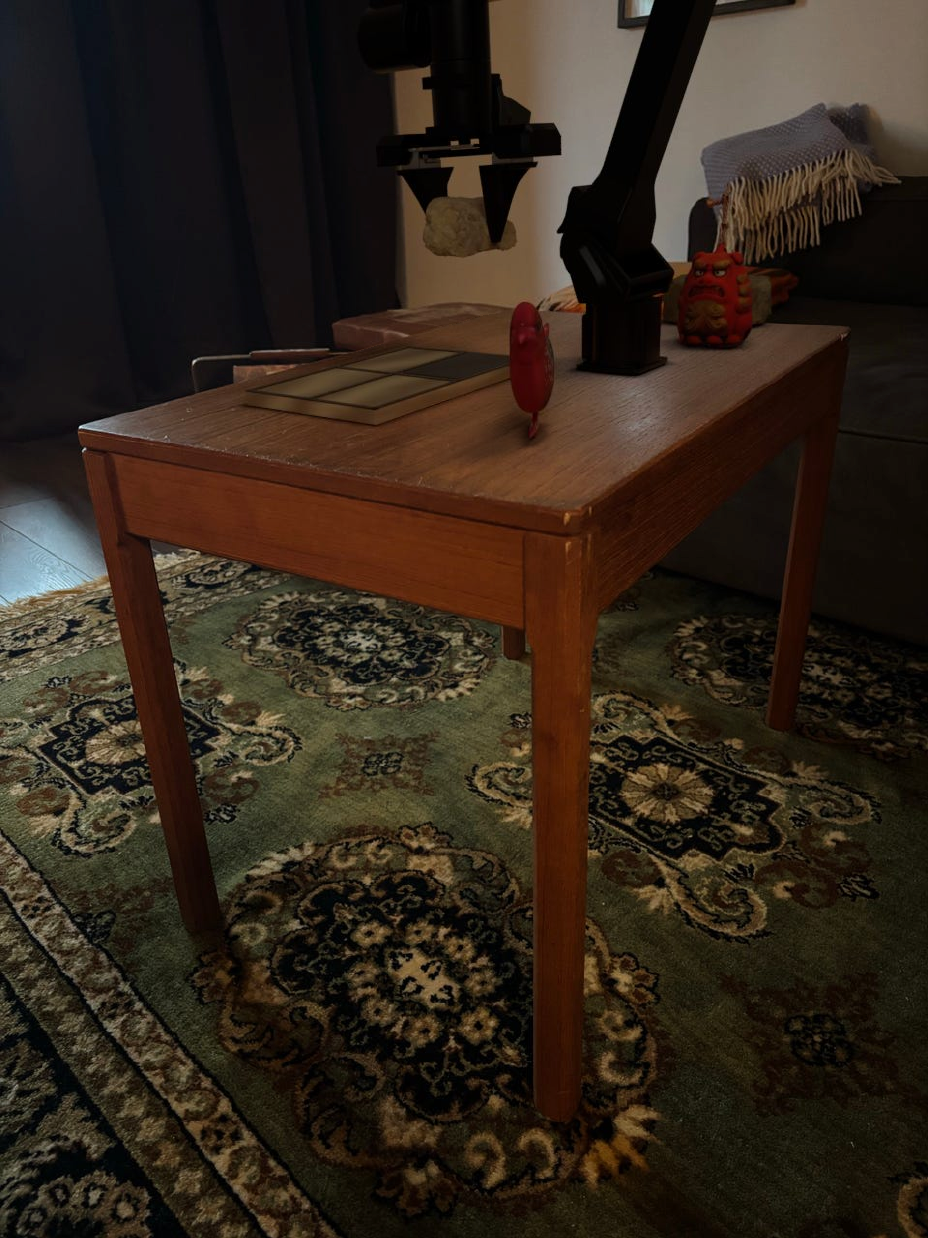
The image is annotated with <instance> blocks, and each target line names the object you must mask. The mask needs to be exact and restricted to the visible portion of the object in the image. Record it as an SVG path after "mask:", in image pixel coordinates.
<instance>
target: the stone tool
mask: <svg viewBox="0 0 928 1238" xmlns="http://www.w3.org/2000/svg"><path fill="white" fill-rule="evenodd" d="M425 214H426V215H425ZM424 215H425V218H424V219H425V224H424V228H423V231H422V241H423V243H424V247H425V248H426V249H427V250H429V251H430V252H431V253H432V254H433V255H434V256H436V257H444V258H446V257H455V258H461V259H464V258H467V257H471V256H474V255H476V254H478V253H482V252H489V251H494V250H498V251H501V252H504V251H508V250H510V249H512V248H514V247H516V246H517V242H518V240H517V230H516V226H515V224H514V223H513V221H510V220H509V219H507V222H506V225H505V229H504V232H503V236H502V239H501V242H499V243H492V242H491V238H490V234H489V230H488V226H487V219H486V212H485V206H484V199H483V196H476V197H465V196H458V197H455V196H450V195H448V196H447V197H438V198H434V199H433V200H432V202H431V203H430V204H429V205H428V207H427V211H426V213H424Z"/></svg>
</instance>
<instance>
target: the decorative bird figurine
mask: <svg viewBox="0 0 928 1238" xmlns="http://www.w3.org/2000/svg"><path fill="white" fill-rule="evenodd" d="M508 337H509V338H508V339H509V343H508V344H509V355H510V378H509V379H510V385H511V391H512V394H513V398H514V400H515V402H516V404H517V406H518V407H519V409H520V410H521V411H523V412H524V413H527V414H532V415H531V419H530V422H529V429H528V435H529V436H528V439H529V440H531V439H532V438H534V437H536V436H537V434H538V431H539V427H540V421H539V413H541V412H543V410H544V409H545V408H546V407H547V406H548V404H549V402H550V400H551V396H552V393H553V388H554V383H555V355H554V354H555V353H554V349H553V345H552V342H551V339H550V324H549V322H546V323H545V324H544V323H543V320H542V317H541V313H540V312H539V310H538V309H537V307H536V305H534V304H533V303H532V302H529V301H521V302H520V303H518V304H517V305H516V307H515V308H514V310H513V312H512V315H511V320H510V325H509V336H508Z"/></svg>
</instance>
